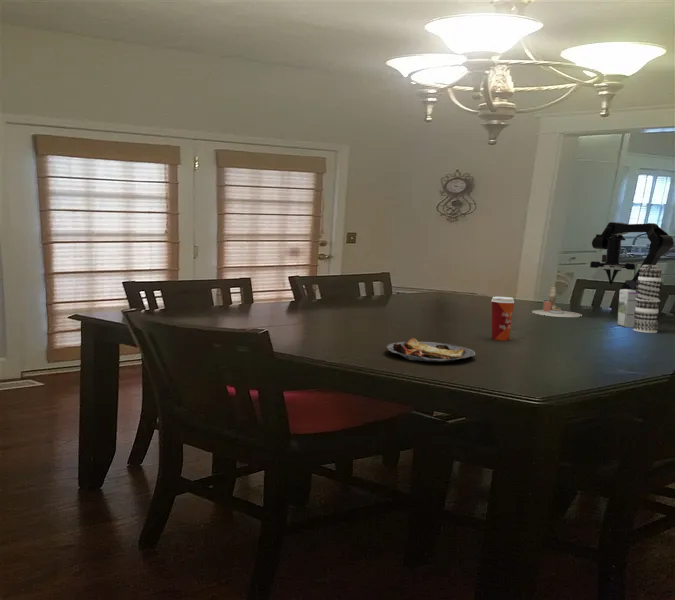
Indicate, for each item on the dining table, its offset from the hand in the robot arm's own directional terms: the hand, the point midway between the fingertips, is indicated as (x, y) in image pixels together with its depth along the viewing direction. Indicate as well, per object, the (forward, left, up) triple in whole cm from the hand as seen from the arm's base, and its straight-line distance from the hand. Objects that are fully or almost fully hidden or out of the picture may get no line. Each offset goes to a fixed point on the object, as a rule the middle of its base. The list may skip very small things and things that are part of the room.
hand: (610, 284), depth 299 cm
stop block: (-4, +29, -13) cm, 33 cm away
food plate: (-114, +97, -14) cm, 150 cm away
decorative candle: (-52, +7, -13) cm, 54 cm away
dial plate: (-11, +27, -13) cm, 32 cm away
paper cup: (-82, +69, -13) cm, 108 cm away
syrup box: (-41, +9, -13) cm, 44 cm away
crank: (-6, +27, -11) cm, 30 cm away
